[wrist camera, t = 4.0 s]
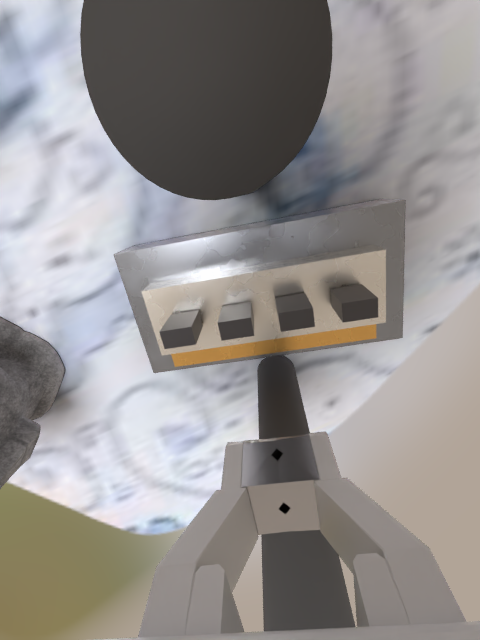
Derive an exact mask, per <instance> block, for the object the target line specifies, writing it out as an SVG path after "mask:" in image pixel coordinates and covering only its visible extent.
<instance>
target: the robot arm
mask: <svg viewBox="0 0 480 640" xmlns="http://www.w3.org/2000/svg"><path fill="white" fill-rule="evenodd" d="M307 530H320V532H321V533H322V534H323V535H324V537H325V538H326V539H327V541H328V542H329V543H330V545H331V546H332V547H333V549H334V550H335V551H336V552H337V554H338V555H339V556H340V558H341V559H342V560H343V562H344V563H345V564H346V565H347V567H348V568H349V569H350V571H351V572H352V573H353V575H354V588H355V602H356V617H357V627H348V628H327V629H305V630H285V631H264V632H244V629H243V626H242V623H241V620H240V617H239V614H238V610H237V607H236V604H235V601H234V598H233V595H232V592H233V590H234V588H235V585H236V583H237V581H238V579H239V577H240V575H241V573H242V571H243V569H244V566H245V564H246V562H247V560H248V558H249V556H250V554H251V552H252V550H253V548H254V546H255V543H256V541H257V539H258V535H261V534H270V533H279V532H288V531H307ZM95 640H480V621H479V622H466V620H465V618H464V616H463V614H462V612H461V610H460V608H459V606H458V604H457V602H456V600H455V598H454V596H453V594H452V592H451V590H450V588H449V586H448V584H447V582H446V580H445V578H444V576H443V574H442V572H441V570H440V568H439V566H438V564H437V562H436V560H435V558H434V556H433V554H432V552H431V550H430V548H429V547H428V546H427V545H425V544H424V543H423V542H422V541H421V540H420V539H418V538H417V537H416V536H415V535H414V534H413V533H411V532H410V531H409V530H408V529H407V528H405V527H404V526H403V525H402V524H401V523H400V522H398V521H397V520H396V519H395V518H394V517H393V516H391V515H390V514H389V513H388V512H386V511H385V510H384V509H383V508H382V507H381V506H380V505H378V504H377V503H376V502H375V501H374V500H372V499H371V498H370V497H369V496H368V495H367V494H365V493H364V492H363V491H362V490H361V489H360V488H358V487H357V486H356V485H355V484H354V483H352V482H351V481H350V480H349V479H348V478H341V475H340V472H339V469H338V466H337V463H336V459H335V456H334V453H333V450H332V447H331V444H330V441H329V437H328V434H327V433H326V432H318V433H310V434H303V435H295V436H287V437H279V438H270V439H259V440H247V441H241V442H228V443H227V445H226V449H225V458H224V467H223V476H222V486H221V490H216V491H215V492H214V494H213V495H212V496H211V497H210V499H209V500H208V501H207V503H206V504H205V505H204V506H203V508H202V509H201V510H200V512H199V513H198V514H197V515H196V517H195V518H194V519H193V521H192V522H191V523H190V524H189V526H188V527H187V528H186V530H185V531H184V532H183V534H182V535H181V536H180V537H179V539H178V540H177V541H176V543H175V544H174V545H173V546H172V548H171V549H170V550H169V551H168V553H167V554H166V555H165V557H164V558H163V559H162V560H161V562H160V563H159V564H158V565H157V567H156V571H155V575H154V578H153V582H152V586H151V590H150V593H149V597H148V601H147V605H146V609H145V613H144V616H143V620H142V624H141V628H140V631H139V635H138V638H117V639H95Z"/></svg>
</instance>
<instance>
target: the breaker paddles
mask: <svg viewBox="0 0 480 640" xmlns="http://www.w3.org/2000/svg"><path fill="white" fill-rule="evenodd" d="M330 296H331V306H332V308H333V309H334V311H335V312H336V314H337V315H338V316H339V318H340V319H341V321H342V322H343V323H344V322H351V321H357V320H364V319H371V318H378V297H377V296H375V295H374V294H373V293H372V292H371V291H369V290H368V289H367V288H366V287H365V286H363V285H362V284H358V285H352V286H346V287H339V288H333V289H330ZM275 302H276V308H277V315H278V320H279V325H280V330H281V332H284V331H290V330H297V329H304V328H310V327H315V322H314V312H313V307H312V305H311V303H310V301H309V299H308V297H307V295H306V293H302V294H296V295H290V296H283V297H277V298H275ZM202 327H203V324H202V320H201V316H200V312H199V310H197V311H190V312H184V313H178V314H172V315H170V317H169V318H168V320H167V321H166V322H165V324H164V325H163V327H162V328H161V330H160V331H159V333H160V336H161V339H162V342H163V345H164V349H170V348H176V347H183V346H190V345H196V343H197V341H198V338H199V335H200V333H201V330H202ZM218 327H219V331H220V336H221V340H222V341H223V340H230V339H237V338H243V337H250V336H254V315H253V309H252V304H251V302H246V303H240V304H234V305H228V306H222V308H221V312H220V315H219V319H218Z"/></svg>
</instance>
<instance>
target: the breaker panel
mask: <svg viewBox="0 0 480 640" xmlns="http://www.w3.org/2000/svg"><path fill="white" fill-rule="evenodd" d="M404 239H405V200H393V199H378V200H373V201H368V202H362V203H357V204H352V205H346V206H341V207H336V208H330V209H325V210H320V211H314V212H309V213H304V214H299V215H293V216H288V217H283V218H277V219H272V220H267V221H261V222H256V223H251V224H245V225H240V226H235V227H229V228H224V229H219V230H214V231H208V232H203V233H198V234H192V235H187V236H182V237H176V238H171V239H166V240H160V241H155V242H150V243H145V244H139V245H134V246H132V247H129V248H127V249H125V250H123V251H120V252H118V253H116V254H114V257H115V260H116V263H117V266H118V269H119V272H120V275H121V278H122V281H123V284H124V287H125V290H126V293H127V296H128V299H129V301H130V304H131V307H132V310H133V313H134V316H135V319H136V322H137V325H138V328H139V331H140V334H141V337H142V340H143V343H144V346H145V349H146V352H147V355H148V357H149V360H150V363H151V366H152V369H153V372H154V373H158V372H165V371H172V370H179V369H186V368H193V367H200V366H207V365H214V364H222V363H229V362H236V361H243V360H250V359H257V358H264V357H271V356H278V355H285V354H292V353H299V352H307V351H314V350H321V349H328V348H335V347H342V346H349V345H356V344H363V343H370V342H377V341H385V340H392V339H399V338H402V336H403V287H404ZM358 284H362V285H363V286H365V287H366V288H367V289H368V290H369V291H371V292H372V293H373V294H374V295H375V296H377V297H378V318H371V319H364V320H357V321H351V322H344V323H343V322H342V321H341V319H340V318H339V316H338V315H337V314H336V312H335V311H334V309H333V308H332V306H331V296H330V289H333V288H339V287H346V286H352V285H358ZM302 293H306V295H307V297H308V299H309V301H310V303H311V305H312V307H313V312H314V322H315V327H310V328H304V329H297V330H290V331H284V332H281V330H280V325H279V320H278V315H277V308H276V302H275V298H277V297H283V296H290V295H296V294H302ZM246 302H251V304H252V309H253V315H254V336H250V337H243V338H237V339H230V340H223V341H222V340H221V336H220V331H219V327H218V319H219V315H220V312H221V308H222V306H228V305H234V304H240V303H246ZM197 310H199V312H200V316H201V320H202V324H203V327H202V330H201V333H200V335H199V338H198V341H197V343H196V345H190V346H183V347H176V348H170V349H164V345H163V342H162V339H161V336H160V333H159V331H160V330H161V328H162V327H163V325H164V324H165V322H166V321H167V320H168V318H169V317H170V315H172V314H178V313H184V312H190V311H197Z"/></svg>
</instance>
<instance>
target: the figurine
mask: <svg viewBox="0 0 480 640" xmlns="http://www.w3.org/2000/svg"><path fill="white" fill-rule="evenodd" d="M64 371H65V369H64V366H63V363H62V361H61V359H60V357H59V356H58V354H57V352H56V351H55V350H54V348H53V347H52V346H51V345H50V344H49V343H48V342H46V341H44V340H42V339H40V338H39V337H37V336H35V335H33V334H31V333H29V332H25V331H23V330H22V329H21V328H20V327H18V326H16V325H14V324H12V323H10V322H8V321H6V320H4V319H2V318H0V489H1V487H2V486H3V485H4V484H5V483H6V482H7V481H8V479H9V478H10V477H11V476H12V475H13V474H14V473H15V472H16V471H17V469H18V468H19V467H20V466H21V465H23V464H24V463H25V462H26V461H27V460H28V459H29V458H30V457H31V454H32V452H33V450H34V447H35V445H36V443H37V440H38V438H39V434H40V425H39V424H38V423H36V422H34V421H32V420H34V419H37V418H39V417H41V416H43V415H44V414H45V413H46V412H47V411H48V410H49V409H50V408H51V406H52V404H53V402H54V400H55V398H56V395H57V392H58V390H59V387H60V385H61V382H62V379H63V376H64Z"/></svg>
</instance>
